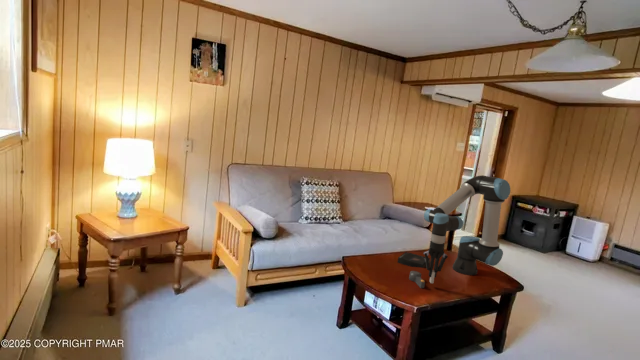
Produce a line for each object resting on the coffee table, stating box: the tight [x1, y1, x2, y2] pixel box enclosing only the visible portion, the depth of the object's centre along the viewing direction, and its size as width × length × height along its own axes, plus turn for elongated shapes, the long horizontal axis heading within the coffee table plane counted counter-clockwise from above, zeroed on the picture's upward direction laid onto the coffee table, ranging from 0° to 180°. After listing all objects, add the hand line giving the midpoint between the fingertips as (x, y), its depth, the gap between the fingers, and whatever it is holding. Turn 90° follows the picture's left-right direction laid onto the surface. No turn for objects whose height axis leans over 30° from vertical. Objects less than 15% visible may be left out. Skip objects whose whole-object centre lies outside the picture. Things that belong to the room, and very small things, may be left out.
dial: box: [408, 270, 426, 289], centre depth 201 cm, size 14×6×4 cm, turn 7°
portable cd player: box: [396, 251, 431, 269], centre depth 237 cm, size 16×17×4 cm
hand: (431, 282), depth 197 cm, fingers closed
